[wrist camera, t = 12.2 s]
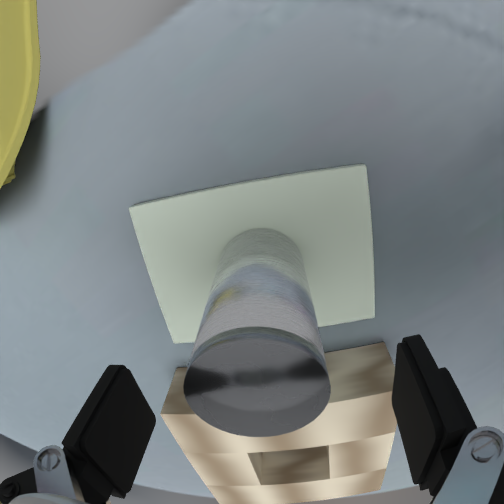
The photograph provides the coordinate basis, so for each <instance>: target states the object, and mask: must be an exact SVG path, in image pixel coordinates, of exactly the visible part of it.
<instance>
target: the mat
mask: <svg viewBox="0 0 504 504" xmlns="http://www.w3.org/2000/svg"><path fill="white" fill-rule="evenodd" d="M129 211H130V214H131V218H132V221H133V225H134V228H135V232H136V235H137V238H138V242H139V245H140V248H141V251H142V255H143V258H144V261H145V264H146V267H147V270H148V273H149V276H150V279H151V282H152V285H153V288H154V291H155V294H156V296H157V299H158V302H159V305H160V308H161V310H162V313H163V316H164V319H165V321H166V324H167V327H168V329H169V332H170V334H171V337H172V340H173V342H174V343H188V342H195V340H196V337H197V333H198V330H199V327H200V323H201V320H202V316H203V313H204V310H205V306H206V303H207V300H208V296H209V293H210V290H211V286H212V283H213V280H214V277H215V273H216V270H217V267H218V264H219V260H220V257H221V254H222V252H223V250H224V248H225V246H226V245H227V244H228V242H229V241H230V240H231V239H232V238H234V237H235V236H236V235H238V234H240V233H242V232H244V231H247V230H250V229H256V228H266V229H272V230H276V231H278V232H281V233H283V234H285V235H286V236H287V237H289V238H290V239H291V240H292V241H293V242H294V243H295V244H296V245H297V247H298V248H299V250H300V252H301V255H302V258H303V262H304V267H305V271H306V275H307V279H308V283H309V288H310V292H311V296H312V301H313V305H314V309H315V314H316V318H317V323H318V327H323V326H329V325H335V324H341V323H347V322H353V321H358V320H364V319H369V318H374V317H375V287H374V256H373V237H372V222H371V209H370V198H369V188H368V178H367V170H366V165H364V164H355V165H347V166H339V167H332V168H325V169H318V170H311V171H304V172H298V173H291V174H285V175H279V176H273V177H267V178H261V179H255V180H250V181H244V182H239V183H233V184H228V185H223V186H218V187H213V188H208V189H203V190H198V191H193V192H188V193H184V194H179V195H174V196H170V197H165V198H161V199H157V200H152V201H148V202H144V203H139V204H135V205H133V206H131V207H130V208H129Z"/></svg>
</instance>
